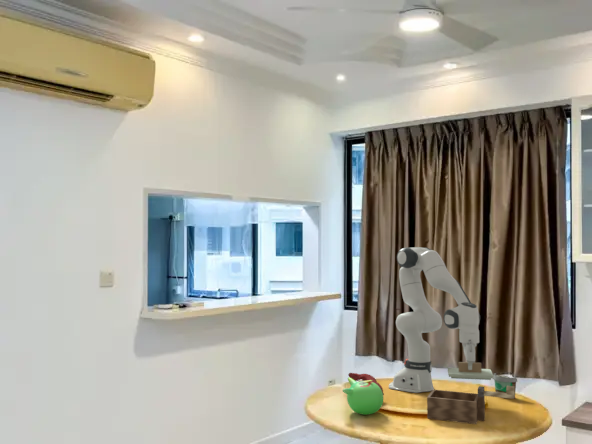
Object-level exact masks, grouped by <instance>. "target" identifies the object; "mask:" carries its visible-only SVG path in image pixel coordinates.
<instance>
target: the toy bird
mask: <svg viewBox="0 0 592 444" xmlns="http://www.w3.org/2000/svg"><path fill="white" fill-rule="evenodd" d="M347 381H348V383H349V385H350V387H348V388H343V389H342V392H343V393H345V394H346V401H347V404H348V406H349V408H350V409H351V410H352V411H353V412H354V413H357V414H359V415H366V416H367V415H372V414H375V413H376V412H378V411H379V410H380V409H381V408H382V406H383V403H384V395H383V393H384V392H383V393H382V390H381V389H380V387H379V386H378V385H377V384H375V383H374V382H371V381H372V380H367V381H363V380H359V381H355V380H353V379H352V378H350V377H349V376H348V377H347Z"/></svg>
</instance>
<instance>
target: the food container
mask: <svg viewBox="0 0 592 444" xmlns="http://www.w3.org/2000/svg"><path fill="white" fill-rule="evenodd" d="M493 375H494V378H492V380H493V381H494V388H495V389H494V390H495V391H494V392H503V393H506V387H507V386H514V388H515V391H516V388H517V383H518V378H517V377H516V376H515V377H510V376H507V375H498V374H497V372H495V373H493ZM499 398H501V397H499Z"/></svg>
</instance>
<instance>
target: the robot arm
mask: <svg viewBox="0 0 592 444" xmlns="http://www.w3.org/2000/svg"><path fill="white" fill-rule="evenodd" d="M396 261H397V264H398V266H399V267H400V268H399V272H398V273H399V274H398V276H399V286H400V291H401V295H402V299H403V303H405V305H407V306H409V307H410V308H411V309H412V310H413V311H406V312H403V313H400V314H398V315H397V316H396V320H395V326H396V329H397V330H398V333H401V335H403V337H404V339H405V341H406V343H407V353H408V354H407V355H408V356H407V357H408V358H406V359H405V360H404V363H403V365H404V367H402V368H401V369H400V370H399V371H397V372H395V374H394V376H393V380H392V381H391V382H390V383H389V384H388V389H390V390H396V391H402V392H409V393H416V394H418V393H424V392H425V393H426V392H432V390H435V388H434V387H435V386H434V383H433V378H432V371H433V370H432V369H433V368H432V366H433V365H432V360H431V345H430V344H429V343H428V342H427V341H426V340H424V339H423V333H424V334H425V333H433V332H436V331H439V330H440V329H441V328H442V325H443V322H444V325H445V326H446V327H447V328H448V329H452V330H459V331H458V332H459V335H458V336H459V343H461V344H462V347H463V355H464V357H465V360H466V362H468V370H472V364H473V363H474V362H476V347H477V345H478V344H479V343H480V330H479V325H480V321H481V315H480V312H479V307H478V306H477V305H476V304H475V303H473V302H471V300H470V299H469V297H468V295H467V293H466V292H465V289H464V288H463V287H462V285H461V284H460V282H459V281H458V280H457V279H456V278H454V277H453V276H452V274H451V273H450V271H449V270H448V268H447V266H446V263H445V261H444V260H443V259H442V257H441V256H440V254H439V252H437V251H436V250H433V249H432V248H428V247H421V246H420V247H419V246H414V247H409V246H408V247H403V248H401V249H399V251H398V252H397V254H396ZM421 272H423V273H424V276H425V278H426V281H427V283H428V284H429V285H430V287H432V288H434V289H436V290H440V291H443V292H446V293H448V294H450V295H451V296H452V297H453V300H455V301H456V304H457V306H456V307H452V308H449V309H447V310H446V311H445V312H444V314H443V318H442V315H441V314H440V312H438V311H436V309H435V310H434V308H433V307H432V306H431V305H430V303H429V301H428V300H427V298H426V295H425V292H424V288H423V283H422V278H421Z"/></svg>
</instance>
